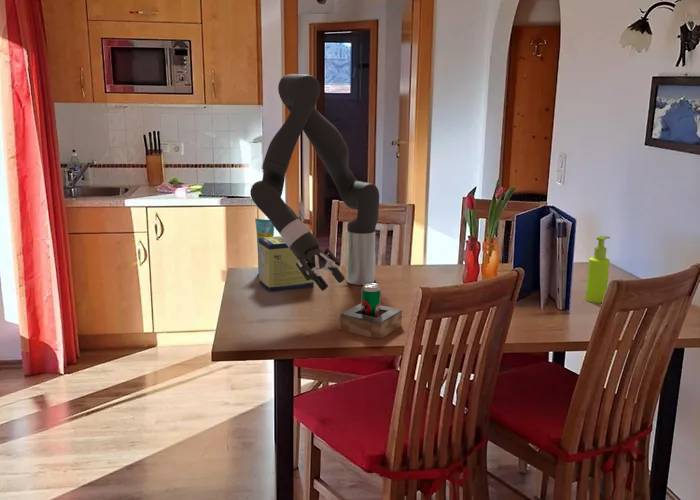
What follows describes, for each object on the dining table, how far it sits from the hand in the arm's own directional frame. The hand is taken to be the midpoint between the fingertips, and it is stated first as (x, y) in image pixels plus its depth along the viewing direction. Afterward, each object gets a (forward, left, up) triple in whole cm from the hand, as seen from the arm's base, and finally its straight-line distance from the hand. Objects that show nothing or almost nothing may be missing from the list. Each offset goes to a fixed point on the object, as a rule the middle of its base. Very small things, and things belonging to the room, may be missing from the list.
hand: (334, 284), depth 188 cm
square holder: (0, +12, -10) cm, 16 cm away
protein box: (-20, -31, -10) cm, 38 cm away
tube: (-27, -45, -10) cm, 53 cm away
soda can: (+1, +12, -10) cm, 16 cm away
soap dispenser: (-60, +58, -10) cm, 84 cm away
